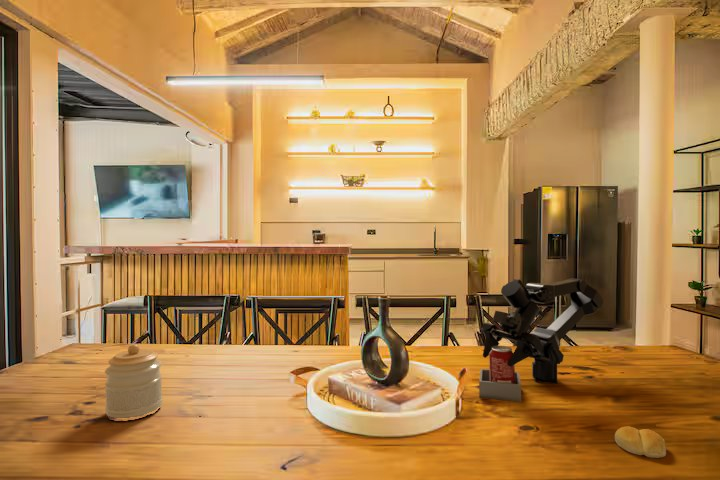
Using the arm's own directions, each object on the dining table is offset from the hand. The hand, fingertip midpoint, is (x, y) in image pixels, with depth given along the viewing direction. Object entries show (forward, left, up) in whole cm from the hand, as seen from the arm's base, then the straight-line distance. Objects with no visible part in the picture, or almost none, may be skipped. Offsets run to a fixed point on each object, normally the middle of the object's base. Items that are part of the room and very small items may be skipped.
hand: (496, 361), depth 116 cm
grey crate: (-1, -1, -9) cm, 9 cm away
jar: (+90, +39, -9) cm, 98 cm away
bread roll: (-29, +22, -10) cm, 38 cm away
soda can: (-2, -1, -9) cm, 9 cm away
